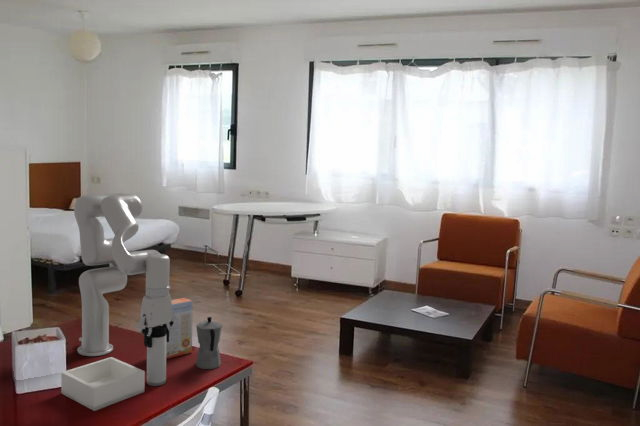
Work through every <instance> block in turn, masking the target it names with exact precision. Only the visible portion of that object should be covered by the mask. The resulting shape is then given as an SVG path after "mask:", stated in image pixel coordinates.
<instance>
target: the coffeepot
mask: <svg viewBox="0 0 640 426" xmlns="http://www.w3.org/2000/svg"><path fill="white" fill-rule="evenodd" d="M206 318H207V319H206V320H203V321H202V322H198V323H197V324H196V334H197V342H198V344H199V348H198V351H197V355H196V356H197V357H196V362H195V366H196V367H197V368H199V369H202V370H213V369H217V368H219V367H220V366H221V364H222V360H221V353H220V347H219V343H220V339H221V334H222V329H223V324H222V323H221V322H219V321H212V319H213V318H212V317H211V316H207V317H206Z"/></svg>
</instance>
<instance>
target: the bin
mask: <svg viewBox="0 0 640 426" xmlns="http://www.w3.org/2000/svg"><path fill="white" fill-rule="evenodd" d="M60 373H61V376H60V377H61V379H60V380H61V383H60V384H61V394H62V395H64V396H66V397H68V398H69V399H71V400H73V401H75V402H77V403H79V404H80V405H82V406H84V407H86V408H88V409H90V410H92V411H93V412H96V411H98V410H101V409H104V408H106V407H108V406H111V405H113V404H114V405H115V404H117V403H119V402H121V401H124V400H126V399H129V398H132V397H135V396H138V395H140V394H143V393H145V388H146V387H145V383H146V382H145V378H146V376H145V375H146V371H145V370H144V369H143V370H142V369H141V368H138V367H136V366H134V365H131V364H130V363H127V362H124V361H122V360H120V359H118V358H115V357H113V356H111V357H107V358H104V359H100V360H97V361H94V362H91V363H87V364H83V365H81V366H77V367H74V368H72V369H71V368H70V369H67V370H64V371H61V372H60Z"/></svg>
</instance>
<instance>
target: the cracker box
mask: <svg viewBox="0 0 640 426" xmlns="http://www.w3.org/2000/svg"><path fill="white" fill-rule="evenodd" d="M171 301H172V313H173V314H174V315H176V316H177V318H176V320H175V321H174V323H173V325H172V326H171V330H169V342H166V360H168V359H172V358H176V357H180V356H184V355H188V354H192V353H193V304H194V302H193V300H191V299H190V298H187V297H181V298H175V299H171ZM160 326H162V325H160Z"/></svg>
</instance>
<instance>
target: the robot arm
mask: <svg viewBox="0 0 640 426" xmlns="http://www.w3.org/2000/svg"><path fill="white" fill-rule="evenodd" d="M73 207H74V208H73V213H74V218H75V221H76V224H77V226H78V230H79V232H78V233H79V243H80V255H81V260H82V262H83V264H84V265H85V266H101V265H108V264H109V266H107V267H100V268H92V269H88V270H86V271H84V272H82V273H81V274H80V276H79V277H78V286H79V292H80V298H81V336H80V337H79V338H78V340H79V342H81V345H80V346H79V347H77V353H78V355H81V356H86V357H97V356H98V357H99V356H104V355H107V354H110V353H111V352H112V351H113V350H114V345H113V344H111V343H109V341H110V336H109V333H110V330H109V329H110V326H109V325H110V324H109V323H110V310H109V309H110V305H109V302H108V300H107V299H106V298H105V297H104V295H103V294H107V293H112V292H117V291H121V290H123V289H125V287H126V286H127V283H128V276H133V275H139V274H144V273H145V295H144V296H143V298H142V302H141V305H140V306H141V307H140V316H139V317H140V318H139V322H138V323H137V324H136V325H135V327H136V329H137V330H138V331H139V332H140V333H141V334H142V335H143V344H144V347H146V348H147V347H149V348H151V347H152V336H151V332H152V328H153V327H157V326H160V325H162V326H166V342H169V330H171V326H172V325H173V323H174V321H175V320H176V318H177V316H176V315H174V314H173V313H172V301H171V300H172V297H171V294H170V290H172V286H171V285H170V273H171V272H170V270H171V269H170V268H171V267H170V266H171V265H170V263H171V262H170V260H171V259H170V257H169V256H168V255H167V254H165V253H160V252H159V251H158V250H157V249H156V250H155V249H146V250H137V251H130V252H128V251H127V249H126V247H125V245H124V243H125V242H127V241H128V240H130V239H132V238H133V237H134V236H135V235H136V234H137V233H138V231H139V228H140V227H139V224H138V222H137V219H136V217H140V215H141V213H142V212H143V203H142V201H141V199H140V198H139V197H138V196H137V194H133V193H132V194H131V193H129V194H128V193H92V194H84V195H81V196H79V197H78V198H77V199H76V200H75V202H74V206H73ZM103 217H104V219H105V220H106V222H107V224H108V225H109V227H110V229H111V230H112V232H113V234H114V236H113V237H112V238H105V229H104V226H103V225H102V223H101V222H100V220H99V219H98V218H103ZM148 328H149V329H148ZM147 330H148V331H147Z"/></svg>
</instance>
